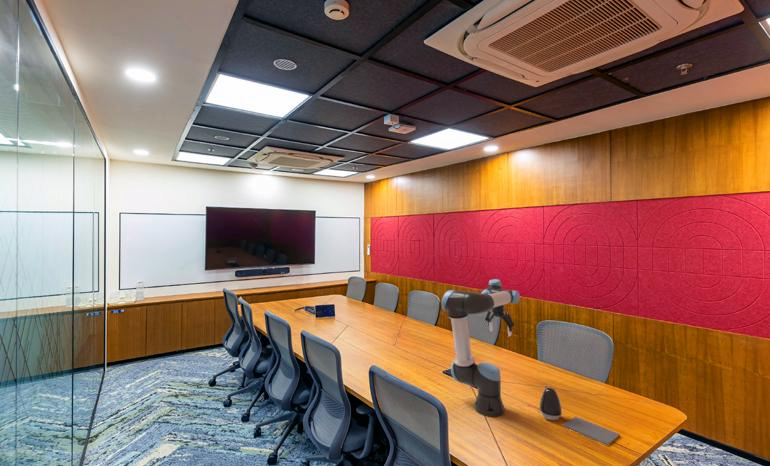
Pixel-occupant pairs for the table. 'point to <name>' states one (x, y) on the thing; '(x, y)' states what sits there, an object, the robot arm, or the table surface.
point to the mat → (591, 430)
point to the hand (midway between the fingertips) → (500, 333)
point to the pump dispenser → (550, 404)
